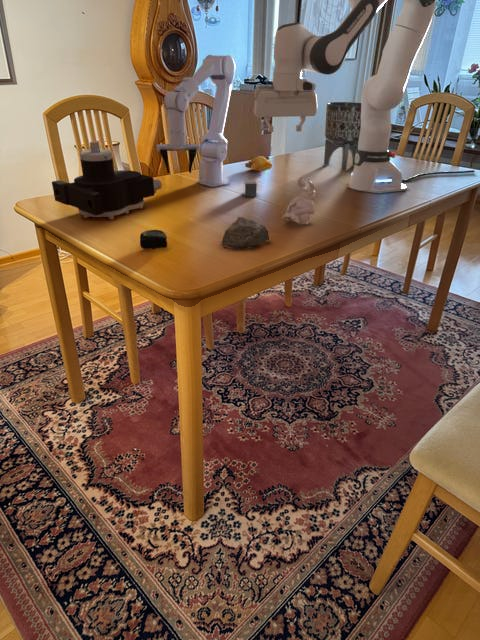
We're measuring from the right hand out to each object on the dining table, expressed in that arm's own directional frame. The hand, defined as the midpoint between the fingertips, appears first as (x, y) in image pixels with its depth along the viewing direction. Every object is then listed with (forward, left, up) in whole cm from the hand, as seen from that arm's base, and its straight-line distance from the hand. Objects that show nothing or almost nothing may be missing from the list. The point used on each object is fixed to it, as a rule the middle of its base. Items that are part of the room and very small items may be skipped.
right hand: (284, 131), depth 149 cm
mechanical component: (+56, +3, -23) cm, 60 cm away
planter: (-46, -48, -23) cm, 70 cm away
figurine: (+2, +25, -23) cm, 34 cm away
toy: (-6, -48, -23) cm, 53 cm away
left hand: (+34, -14, -15) cm, 39 cm away
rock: (+22, +40, -23) cm, 51 cm away
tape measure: (+47, +39, -23) cm, 65 cm away
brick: (+9, -8, -23) cm, 25 cm away
